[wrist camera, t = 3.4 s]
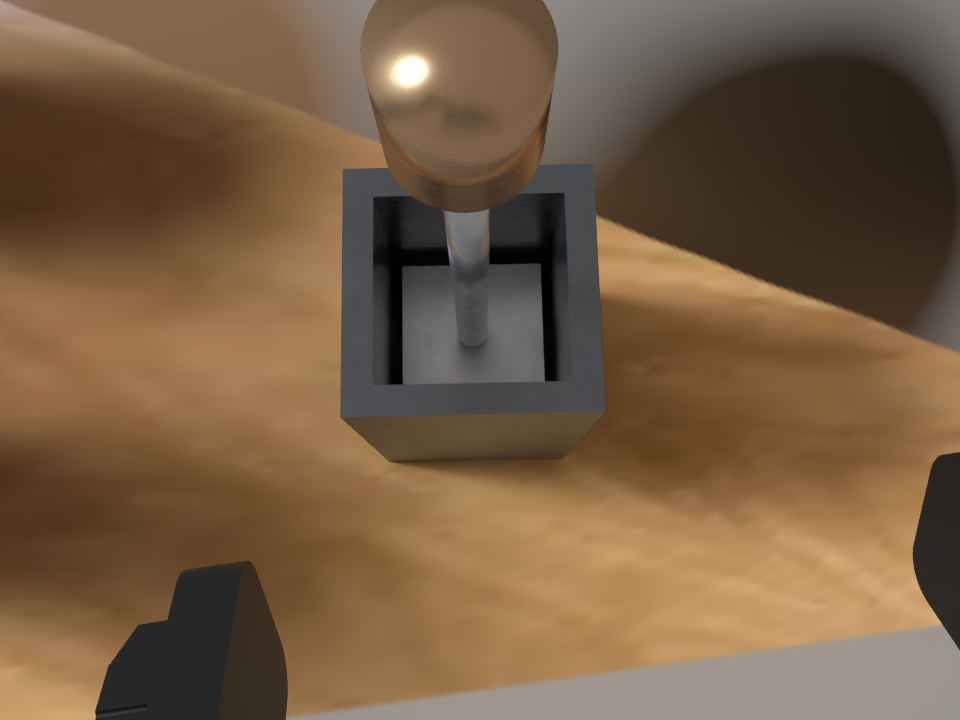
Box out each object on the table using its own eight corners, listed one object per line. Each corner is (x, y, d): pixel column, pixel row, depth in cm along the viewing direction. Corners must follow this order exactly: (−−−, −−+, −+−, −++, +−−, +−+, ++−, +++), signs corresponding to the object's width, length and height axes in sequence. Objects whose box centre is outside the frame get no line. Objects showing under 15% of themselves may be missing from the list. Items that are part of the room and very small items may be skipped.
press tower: (389, 461, 51) (340, 417, 34) (389, 293, 53) (343, 169, 36) (563, 457, 51) (605, 411, 34) (556, 290, 53) (593, 163, 36)
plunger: (404, 406, 42) (292, 204, 17) (404, 272, 44) (299, -92, 19) (543, 403, 42) (631, 197, 17) (539, 269, 44) (613, -99, 19)
